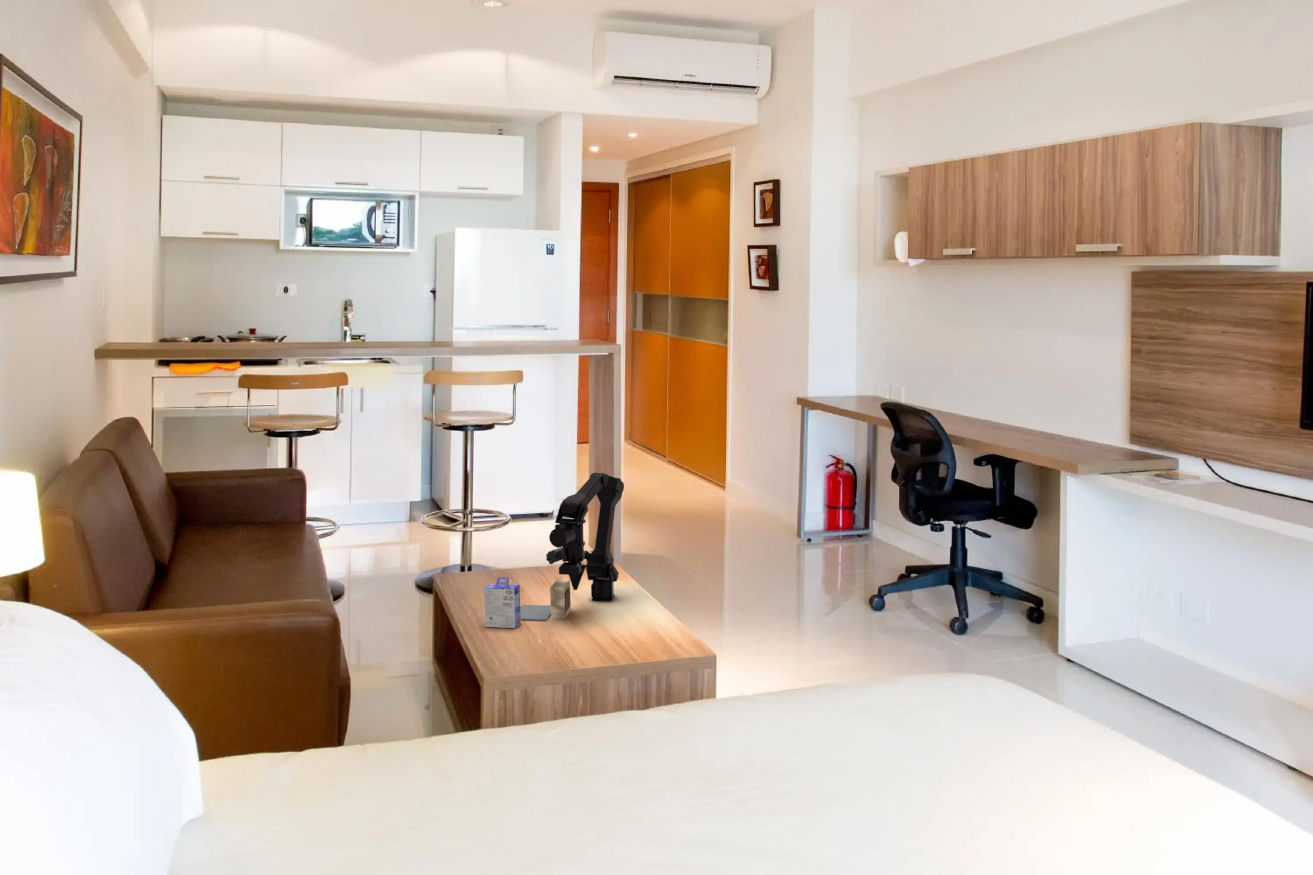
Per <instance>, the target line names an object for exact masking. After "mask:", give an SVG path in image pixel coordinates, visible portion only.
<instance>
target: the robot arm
mask: <svg viewBox="0 0 1313 875" xmlns="http://www.w3.org/2000/svg"><path fill="white" fill-rule="evenodd" d="M624 489H625V484H624V481H622V479H621V478H620V477H614V476H611V475H609V474H607V473H605V472H591V474H590V475H589V479H587V480H586V481H585V483H584V484H583V485H582V486H581V487H580V488H579V490H578V491H577V492H576V493H574V494H571V495H568V496H566V497H565V498H563V500H562V501H561V503H560V505H559V508H558V512H557V515H556V518H555V521H554V523H555V524H554V529H552V530H551V531H550V533H549V539H548V540H549V542H550V544H551V545H552V546H553V547H555V548H556V549H552V550H549V551H547V553H546V554H545V556H546V561H547V562H548V564H549V565H552V564H553V565H554V564H555V563H557V562H560V561H562V564H560V566H559V567H558V574H559V575H565V576H566V575H568V578H569V579H570V584H571V587H572V589H573V591H577V590H578V589H579V586H580V583H581V580H582V577H583V575H584V573H585V572H586V575H587V580H588V581H592V583H591V585H590V596H591V601H594V602H595V601H596V602H597V601H599V602H612V601H613V600H614V598H615V596H616V594H615V593H614V592H615V590H614V589H615V588H614V583H615V582H618V579H619V571H618V569H617V568H616V566H615V565H614V564H615V563H614V560H615V559H614V556H613V554H612V551H611V544H612V535H613V529H614V528H613V527H614V520H615V519H614V518H615V510H616V505H617V504H618V503H619V502H620V500H622V496H623V492H624ZM595 497H597V498H598V502H599V503H600V504H599V505H600V506H599V512H598V519H597V520H598V521H597V528H596V536H595V544H594V549H592V551H591V552H589V551H588V550H584V549H585V548H584V547H585V545H586V541H585V540H584V524H585V523H586V519H585V517H586V515H587V513H588V511H589V506H588V505H589V504H590V503H591V501H592V500H593V499H594V498H595ZM584 560H586V564H582V562H584Z"/></svg>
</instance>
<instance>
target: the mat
mask: <svg viewBox="0 0 1313 875" xmlns="http://www.w3.org/2000/svg"><path fill="white" fill-rule="evenodd" d="M520 612H521V620H525V622H527V621H529V622H547V621H548V620H549V618H551V604H550V605H547V604H545V605H544V604H542V605H541V604H521V605H520Z"/></svg>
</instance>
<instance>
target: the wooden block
mask: <svg viewBox="0 0 1313 875" xmlns="http://www.w3.org/2000/svg"><path fill="white" fill-rule="evenodd" d="M549 594H550V605H551V616H550V620H559V621H560V620H561V621H564V620H565V619H566V618H567V616H568V614H569V613H570V612H571V611H572V610H571V609H572V608H571V605H572V604H571V603H572V602H571V580H570V578H557V579H556V580H555V581H554V582H552V585H551V586H550V587H549Z"/></svg>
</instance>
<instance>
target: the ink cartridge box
mask: <svg viewBox="0 0 1313 875" xmlns="http://www.w3.org/2000/svg"><path fill="white" fill-rule="evenodd" d="M500 580H504V581H500ZM509 580H510V577H509V576H508V577H505V576H497V578H496V583H489V584H488V585H486V586H485V587H484V588H483V599H484V600H483V602H484V603H483V605H484V607H483V609H484V627H485V628H504V629H516V628H518V627H519V626H520V625H522V621H521V612H520V607H521V587H520V586H521V585H520V584H510V583H509Z"/></svg>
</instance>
